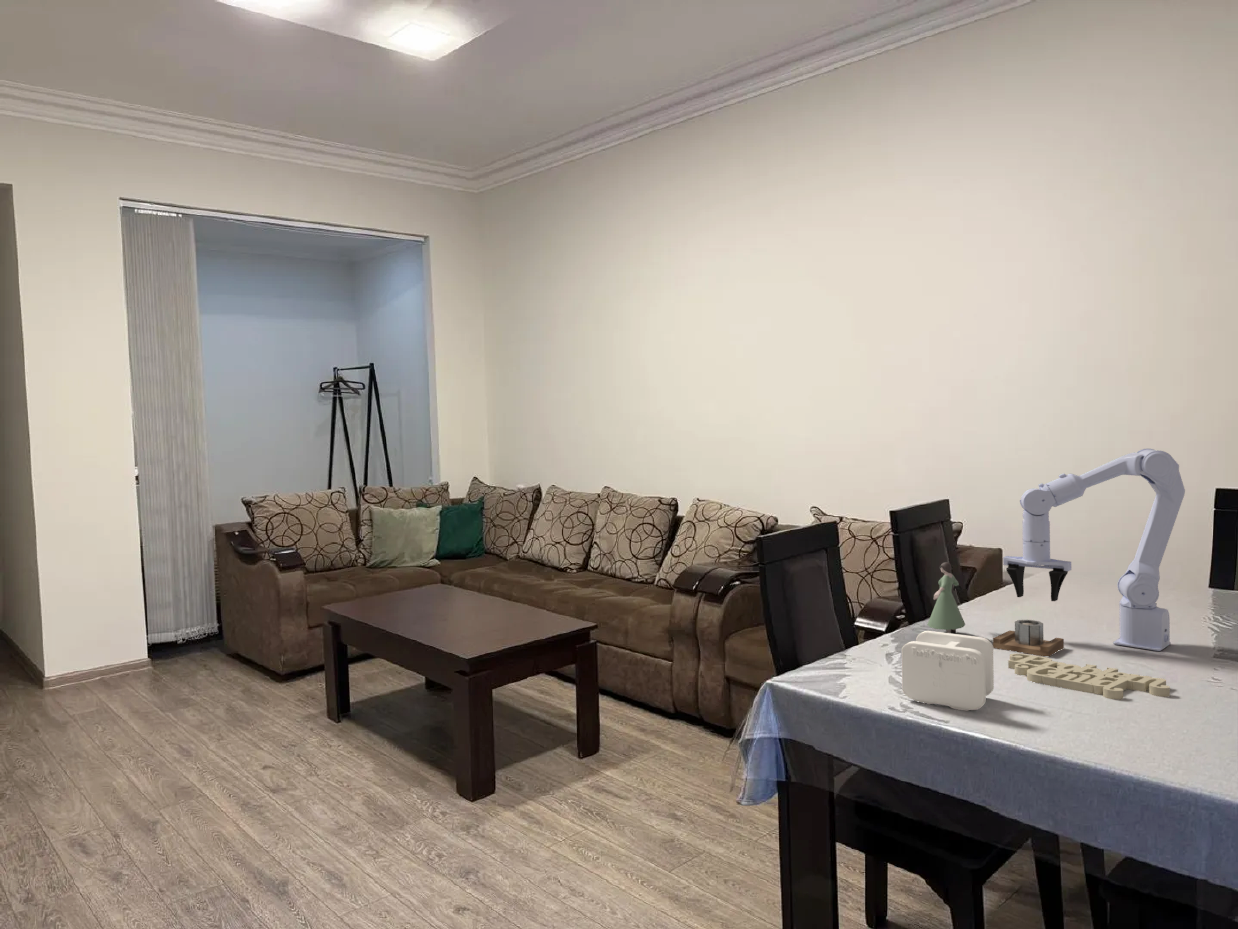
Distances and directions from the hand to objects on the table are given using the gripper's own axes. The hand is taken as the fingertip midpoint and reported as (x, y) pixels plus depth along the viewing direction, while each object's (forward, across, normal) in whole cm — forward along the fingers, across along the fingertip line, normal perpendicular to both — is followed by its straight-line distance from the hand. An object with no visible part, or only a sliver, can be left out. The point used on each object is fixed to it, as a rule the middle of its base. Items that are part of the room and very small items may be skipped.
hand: (1037, 598), depth 202 cm
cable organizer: (+10, +3, -52) cm, 53 cm away
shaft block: (+10, +1, -8) cm, 13 cm away
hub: (+9, +1, -7) cm, 11 cm away
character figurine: (+10, -18, -8) cm, 22 cm away
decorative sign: (+10, +17, -26) cm, 33 cm away
